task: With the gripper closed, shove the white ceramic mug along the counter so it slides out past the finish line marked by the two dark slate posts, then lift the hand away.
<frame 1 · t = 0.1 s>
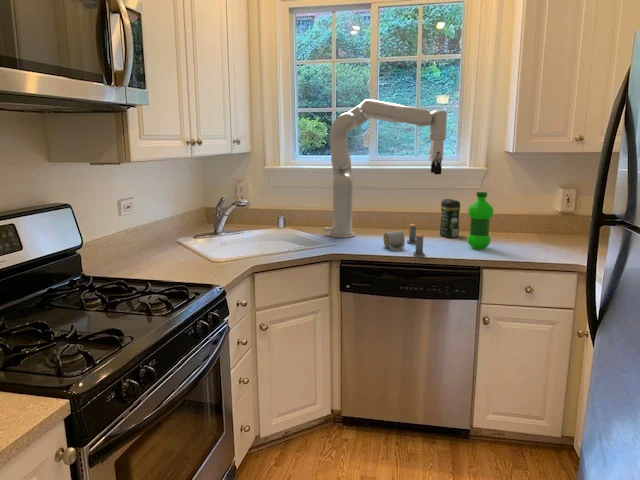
hand: (435, 173, 240), 31 cm above the countertop, tool pointing down, fingers open, 9 cm apart
coffee jar: (448, 236, 247), on the countertop
ceramic mug: (395, 249, 222), on the countertop
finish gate: (415, 248, 221), on the countertop
plastic bottle: (478, 248, 221), on the countertop
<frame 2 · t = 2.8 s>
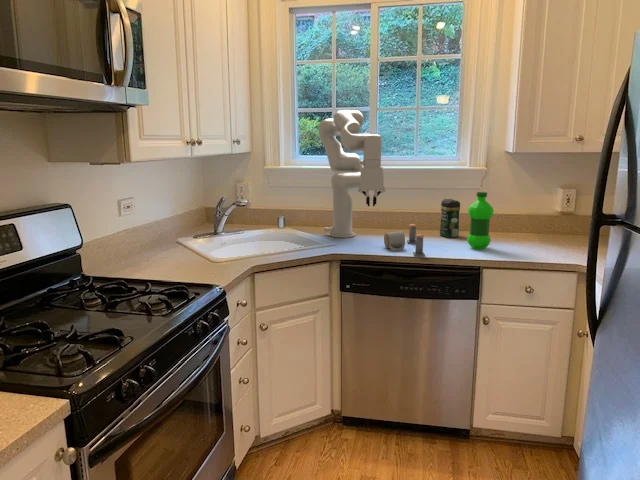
hand: (371, 205, 218), 19 cm above the countertop, tool pointing down, fingers closed
nothing on the countertop moved.
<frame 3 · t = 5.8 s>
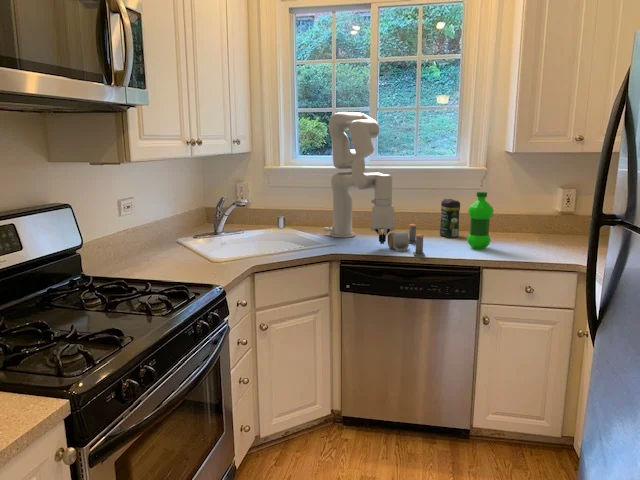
hand: (382, 243, 221), 2 cm above the countertop, tool pointing down, fingers closed
ceramic mug: (399, 249, 220), on the countertop, touching gripper
everything else where it was.
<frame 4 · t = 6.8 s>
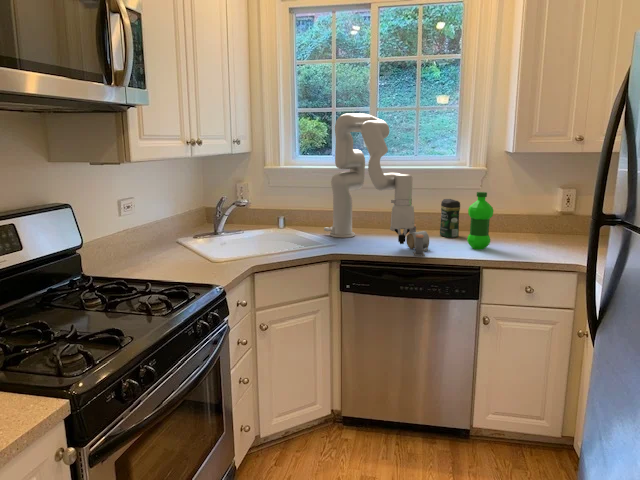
hand: (401, 243, 221), 2 cm above the countertop, tool pointing down, fingers closed
ceramic mug: (419, 249, 220), on the countertop, touching gripper
everything else where it was.
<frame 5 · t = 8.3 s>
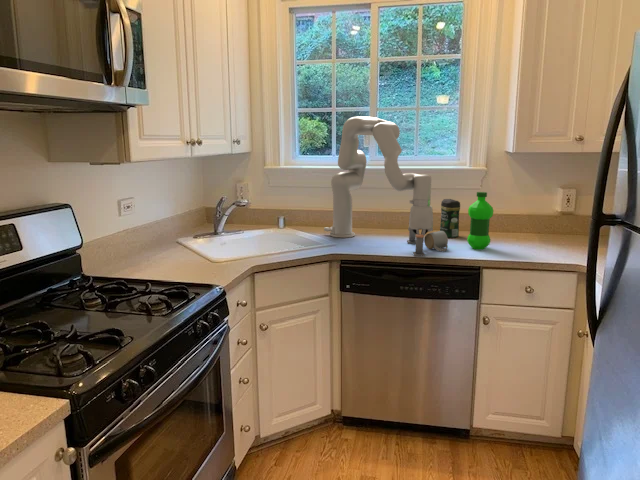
hand: (419, 243, 220), 2 cm above the countertop, tool pointing down, fingers closed
ceramic mug: (437, 249, 220), on the countertop, touching gripper
everything else where it was.
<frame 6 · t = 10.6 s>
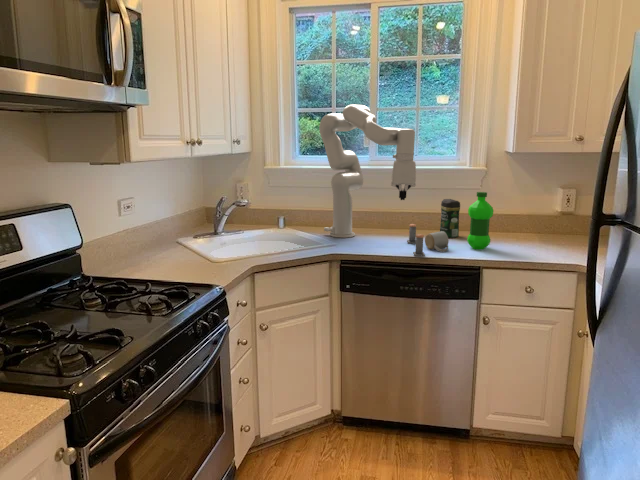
hand: (402, 199, 220), 22 cm above the countertop, tool pointing down, fingers closed
ceramic mug: (438, 249, 220), on the countertop
everything else where it was.
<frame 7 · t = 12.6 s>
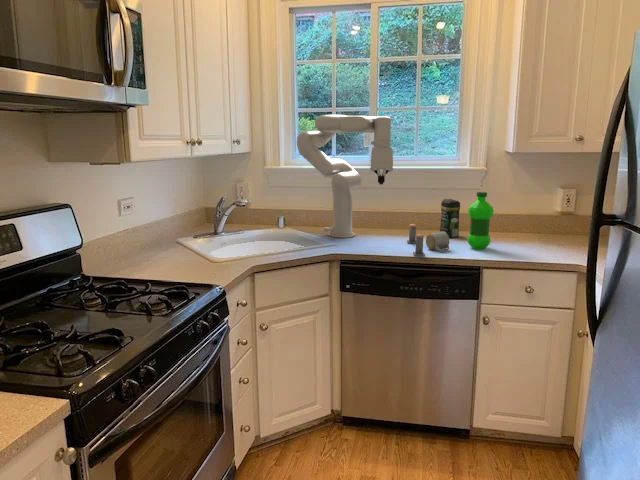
hand: (381, 184, 231), 27 cm above the countertop, tool pointing down, fingers closed
nothing on the countertop moved.
at the end: ceramic mug inside the target area (1.9 cm from its centre), on the countertop; ceramic mug tilted 0°; the gripper is holding nothing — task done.
